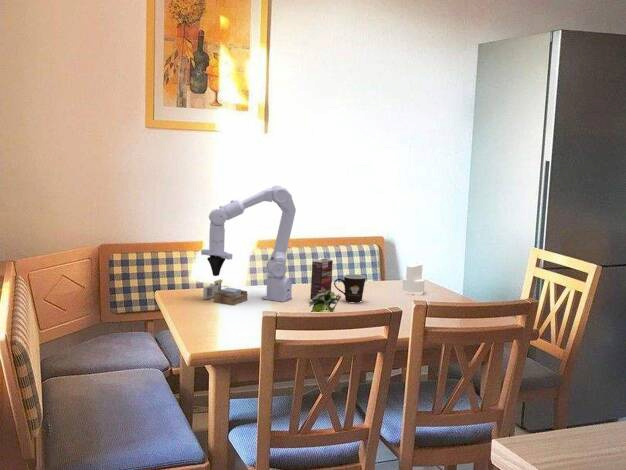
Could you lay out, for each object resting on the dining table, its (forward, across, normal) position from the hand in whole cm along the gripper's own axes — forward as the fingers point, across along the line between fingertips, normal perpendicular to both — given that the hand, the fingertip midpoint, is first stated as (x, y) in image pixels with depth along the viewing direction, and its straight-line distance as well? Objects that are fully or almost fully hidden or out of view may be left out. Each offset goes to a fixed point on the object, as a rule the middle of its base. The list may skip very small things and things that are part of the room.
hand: (216, 275), depth 263 cm
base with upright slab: (+10, +50, +68) cm, 85 cm away
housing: (+9, +6, +2) cm, 11 cm away
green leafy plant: (+10, +44, +11) cm, 46 cm away
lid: (+7, +6, +2) cm, 9 cm away
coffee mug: (+10, +38, +36) cm, 54 cm away
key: (+9, -3, +2) cm, 10 cm away
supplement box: (+10, +30, +29) cm, 42 cm away
